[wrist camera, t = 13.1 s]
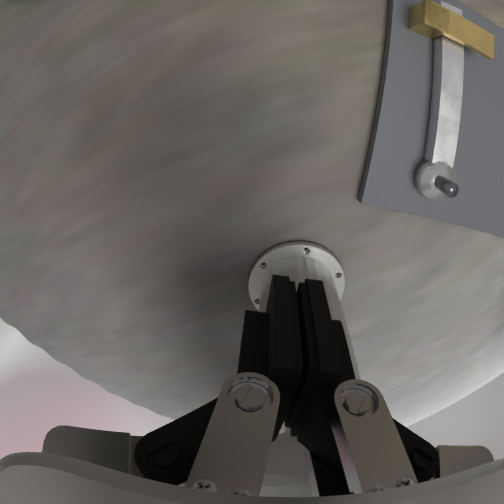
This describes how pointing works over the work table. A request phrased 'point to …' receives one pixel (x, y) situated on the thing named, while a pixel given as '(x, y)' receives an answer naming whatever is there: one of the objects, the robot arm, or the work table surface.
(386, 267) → the work table surface
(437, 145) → the link
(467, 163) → the base plate
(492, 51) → the strip
